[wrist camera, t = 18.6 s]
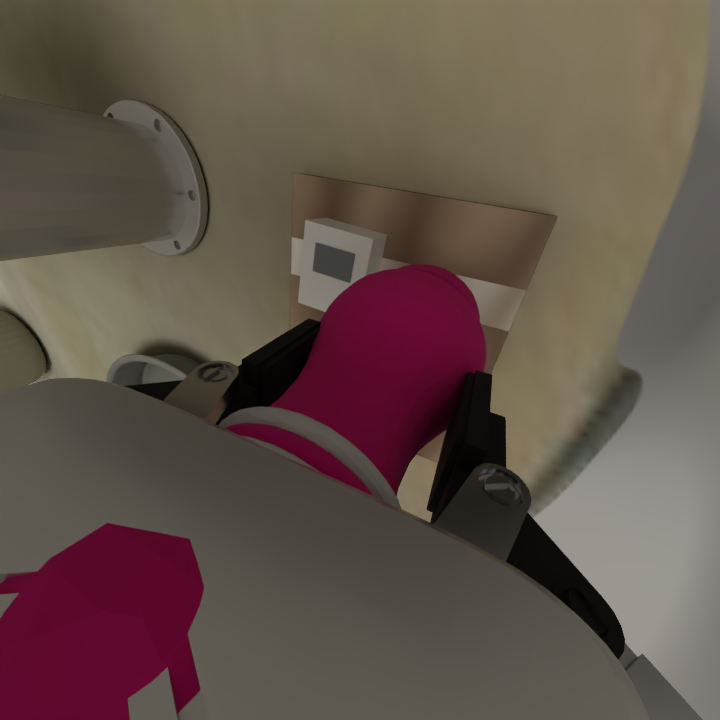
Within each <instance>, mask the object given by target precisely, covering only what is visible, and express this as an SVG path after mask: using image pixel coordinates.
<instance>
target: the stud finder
mask: <svg viewBox="0 0 720 720" xmlns="http://www.w3.org/2000/svg"><path fill="white" fill-rule="evenodd" d="M386 238H387V234H383V233H379V232H376V231H372V230H369V229H365V228H361V227H358V226H354V225H351V224H347V223H344V222H340V221H336V220H333V219H329V218H318V219H309V220H305V229H304V240H303V251H302V262H301V273H300V284H299V295H298V303H301V304H304V305H307V306H309V307H312V308H315V309H318V310H321V311H323V312H326V310H327V309H328V307H329V305H330V304H331V303H332V302H333V301H334V300H335V299H336V298H337V296H338V295H339V294H341V293H342V292H343V291H344V290H346V289H347V288H348V287H349V286H351V285H352V284H353V283H354V282H356V281H357V280H359V279H361V278H363V277H365V276H367V275H369V274H372V273H376V272H379V269H380V265H381V260H382V256H383V252H384V247H385V243H386Z"/></svg>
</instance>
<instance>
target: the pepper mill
mask: <svg viewBox="0 0 720 720" xmlns="http://www.w3.org/2000/svg"><path fill="white" fill-rule="evenodd" d="M320 322H321V324H320V330H319V332H318V334H317V336H316V338H315V340H314V342H313V345H312V348H311V351H310V354H309V357H308V359H307V362H306V365H305V366H304V368H303V370H302V371H301V373H300V375H299V376H298V378H297V379H296V381H295V382H294V383H293V384H292V385H291V386H290V387H289V388H288V390H287V391H286V392H285V393H284V394H283V395H282V396H281V397H280V398H279V399H278V400H277V401H276V402H274V403H273V404H272V405H270V406H269V407H261V406H260V407H252V408H246V409H242V410H239V411H237V412H235V413H233V414H231V415H229V416H228V417H226V418H225V419H224V420H222V421H221V423H220V424H219V425H218V426H220V427H222V428H224V429H227V430H229V431H231V432H233V433H236V434H238V435H240V436H242V437H245V438H247V439H249V440H251V441H253V442H255V443H257V444H259V445H262V446H264V447H266V448H268V449H270V450H272V451H274V452H277V453H279V454H281V455H283V456H286V457H288V458H290V459H293V460H295V461H297V462H299V463H302V464H304V465H306V466H308V467H311V468H313V469H315V470H317V471H319V472H322V473H324V474H326V475H328V476H330V477H333V478H335V479H337V480H339V481H341V482H343V483H346V484H348V485H350V486H352V487H354V488H356V489H359V490H361V491H363V492H365V493H367V494H369V495H372V496H374V497H376V498H378V499H380V500H382V501H385V502H387V503H389V504H391V505H393V506H395V507H398V508H400V509H401V507H400V504H399V501H398V499H397V497H396V496H397V492H398V487H399V485H400V483H401V481H402V478H403V476H404V474H405V472H406V470H407V467H408V465H409V463H410V461H411V460H412V459H413V458H414V457H415V455H416V454H417V453H418V452H419V451H420V450H421V449H422V448H423V447H424V446H425V445H427V444H428V443H429V442H431V441H432V440H433V439H435V438H436V437H437V436H439V435H440V434H441V433H443V432H444V431H445V430H447V428H448V426H449V424H450V422H451V420H452V417H453V415H454V412H455V409H456V407H457V404H458V401H459V398H460V395H461V392H462V389H463V387H464V384H465V381H466V378H467V374H468V372H471V373H475V371H476V370H478V371H482V372H484V369H485V363H486V342H485V337H484V332H483V328H482V326H481V323H480V314H479V309H478V305H477V302H476V300H475V298H474V295H473V293H472V292H471V290H470V289H469V288H468V287H467V285H466V284H465V283H464V282H463V281H462V280H461V279H460V278H458V277H457V276H456V275H455V274H454V273H452V272H450V271H448V270H446V269H444V268H441V267H438V266H435V265H427V264H412V265H407V266H403V267H400V268H398V269H389V270H382V271H379V272H376V273H372V274H369V275H367V276H365V277H363V278H361V279H359V280H357V281H356V282H354V283H353V284H352V285H351V286H349V287H348V288H347V289H346V290H344V291H343V292H342V293H341V294H339V295H338V296H337V298H336V299H335V300H334V301H333V302H332V303H331V304H330V305H329V307H328V309H327V310H326V312H325V314H324V315H323V317H322V319H321V320H320ZM203 591H204V585H203V581H202V577H201V573H200V570H199V566H198V562H197V559H196V556H195V553H194V550H193V547H192V544H191V541H190V539H188V538H183V537H178V536H173V535H168V534H163V533H158V532H153V531H148V530H142V529H137V528H132V527H126V526H121V525H116V524H110V523H106V524H105V525H103V526H101V527H100V528H98V529H97V530H95V531H93V532H92V533H90V534H89V535H87V536H85V537H84V538H82V539H80V540H79V541H77V542H76V543H74V544H72V545H71V546H69V547H68V548H66V549H64V550H63V551H61V552H59V553H58V554H56V555H55V556H53V557H51V558H50V559H49V560H48V561H47V562H46V563H45V564H44V565H43V566H42V567H41V568H40V569H39V570H38V571H37V572H33V573H28V574H24V575H20V576H15V577H11V578H7V579H5V580H4V581H3V582H1V583H0V594H13V593H19V594H18V595H17V596H16V598H15V599H14V600H13V602H12V603H11V604H10V605H9V607H8V608H7V609H6V610H5V612H4V613H3V615H2V617H1V618H0V720H130V716H129V707H128V698H129V697H131V696H132V695H134V694H135V693H136V692H138V691H139V690H141V689H142V688H144V687H145V686H146V685H148V684H149V683H151V682H152V681H153V680H154V679H155V678H156V677H157V676H159V675H160V674H161V673H162V672H163V671H164V670H165V669H166V668H167V667H168V671H169V675H170V680H171V684H172V689H173V694H174V698H175V703H176V707H177V712H178V713H179V712H180V711H181V710H182V709H183V708H184V707H185V706H186V705H187V704H188V703H189V702H190V701H191V700H192V699H193V698H194V697H195V696H196V695H197V694H198V693H199V691H200V689H201V688H200V684H199V680H198V676H197V671H196V667H195V663H194V659H193V654H192V650H191V646H190V642H189V637H188V632H189V629H190V627H191V625H192V623H193V620H194V618H195V616H196V613H197V611H198V609H199V606H200V603H201V599H202V595H203Z"/></svg>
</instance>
